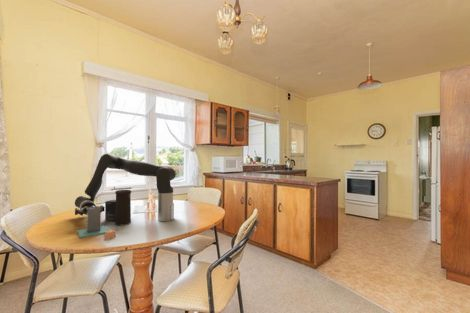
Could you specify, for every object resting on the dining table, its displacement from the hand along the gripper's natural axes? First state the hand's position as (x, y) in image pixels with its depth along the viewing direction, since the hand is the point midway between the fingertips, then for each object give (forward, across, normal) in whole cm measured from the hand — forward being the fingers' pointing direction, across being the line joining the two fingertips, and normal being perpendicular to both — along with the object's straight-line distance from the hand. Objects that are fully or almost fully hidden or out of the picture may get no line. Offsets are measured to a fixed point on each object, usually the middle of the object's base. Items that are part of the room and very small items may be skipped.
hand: (91, 212), depth 125 cm
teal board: (+7, 0, +9) cm, 11 cm away
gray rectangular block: (+7, 0, +8) cm, 11 cm away
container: (-1, +16, +9) cm, 19 cm away
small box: (-12, +16, +9) cm, 22 cm away
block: (+21, +5, +9) cm, 24 cm away
